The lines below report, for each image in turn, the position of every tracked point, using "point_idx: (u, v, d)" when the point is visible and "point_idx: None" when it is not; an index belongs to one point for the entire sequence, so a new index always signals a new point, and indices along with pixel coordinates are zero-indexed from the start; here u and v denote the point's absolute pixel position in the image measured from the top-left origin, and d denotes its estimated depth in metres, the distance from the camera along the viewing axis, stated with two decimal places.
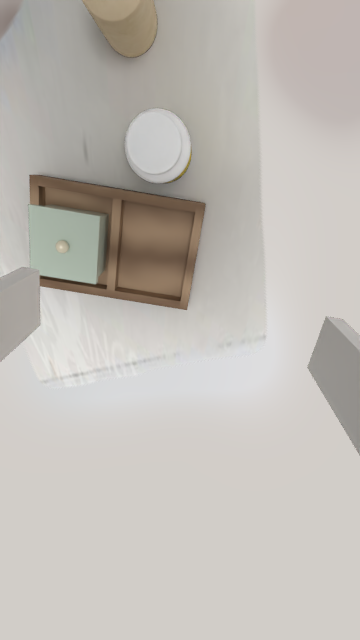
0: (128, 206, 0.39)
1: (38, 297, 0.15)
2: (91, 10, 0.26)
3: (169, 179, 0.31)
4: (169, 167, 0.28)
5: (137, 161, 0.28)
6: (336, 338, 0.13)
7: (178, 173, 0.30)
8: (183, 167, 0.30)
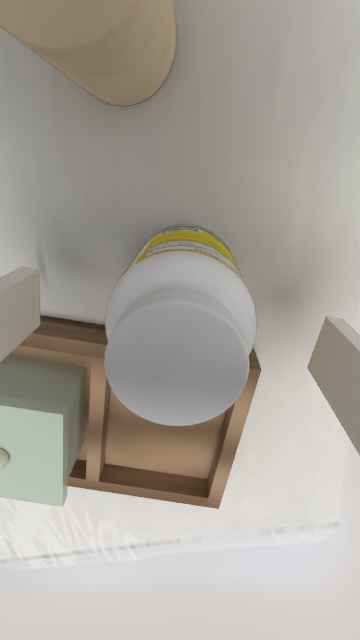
0: None
1: (38, 297, 0.15)
2: None
3: None
4: (214, 415, 0.11)
5: (133, 403, 0.11)
6: (336, 338, 0.13)
7: None
8: None
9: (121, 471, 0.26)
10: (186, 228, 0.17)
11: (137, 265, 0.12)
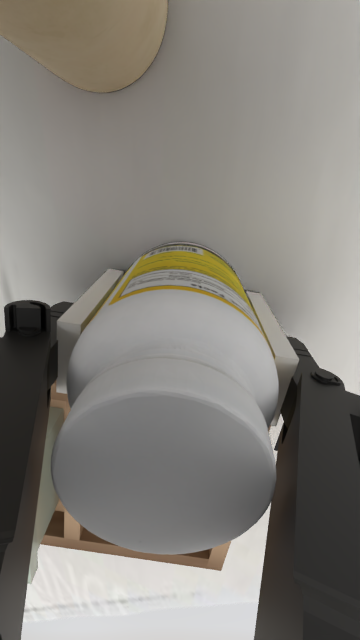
0: None
1: None
2: None
3: None
4: (221, 543, 0.07)
5: (99, 525, 0.07)
6: None
7: None
8: None
9: None
10: (182, 247, 0.14)
11: (109, 310, 0.08)
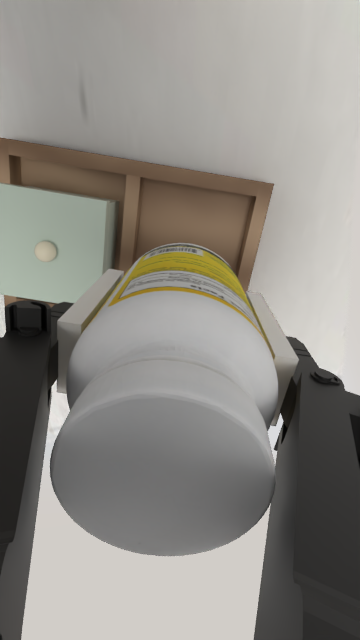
0: (149, 188, 0.25)
1: None
2: None
3: None
4: (220, 544, 0.07)
5: (98, 527, 0.07)
6: None
7: None
8: None
9: None
10: (181, 248, 0.14)
11: (109, 311, 0.08)
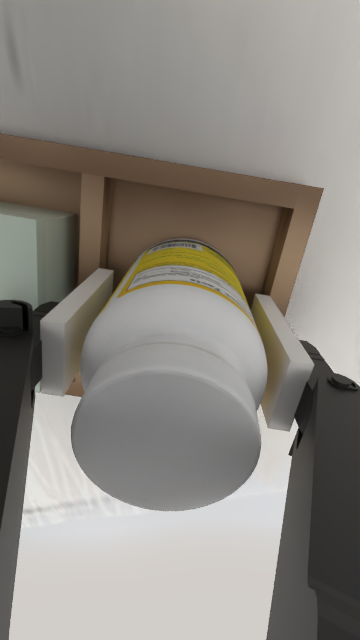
0: (122, 195, 0.16)
1: (111, 295, 0.16)
2: None
3: None
4: (214, 500, 0.09)
5: (111, 485, 0.08)
6: (258, 311, 0.15)
7: None
8: None
9: None
10: (182, 244, 0.15)
11: (118, 302, 0.10)
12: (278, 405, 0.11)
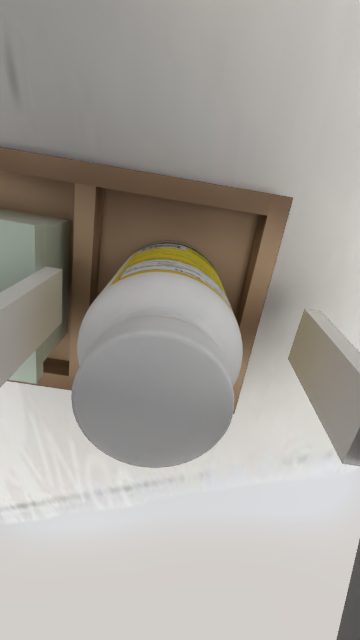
0: (113, 203, 0.18)
1: (60, 296, 0.15)
2: None
3: None
4: (196, 455, 0.10)
5: (106, 443, 0.10)
6: (312, 329, 0.14)
7: None
8: None
9: None
10: (168, 245, 0.16)
11: (111, 287, 0.11)
12: (357, 440, 0.10)
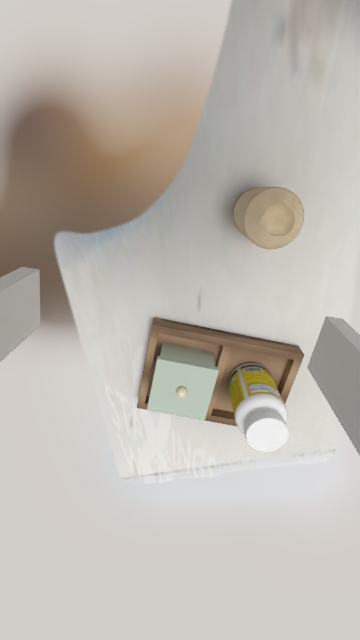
0: (231, 347, 0.44)
1: (38, 297, 0.15)
2: (253, 241, 0.31)
3: None
4: (276, 448, 0.36)
5: (252, 444, 0.36)
6: (336, 338, 0.13)
7: None
8: None
9: (220, 412, 0.47)
10: (255, 368, 0.43)
11: (250, 398, 0.37)
12: None
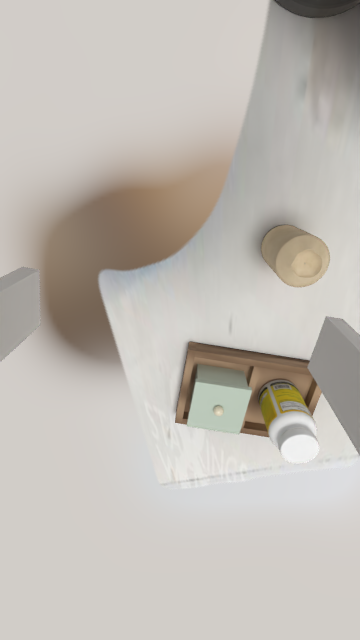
0: None
1: (38, 297, 0.15)
2: (284, 281, 0.35)
3: None
4: None
5: (286, 457, 0.40)
6: (336, 338, 0.13)
7: None
8: None
9: (251, 424, 0.51)
10: (284, 385, 0.46)
11: (283, 415, 0.41)
12: None
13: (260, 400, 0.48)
